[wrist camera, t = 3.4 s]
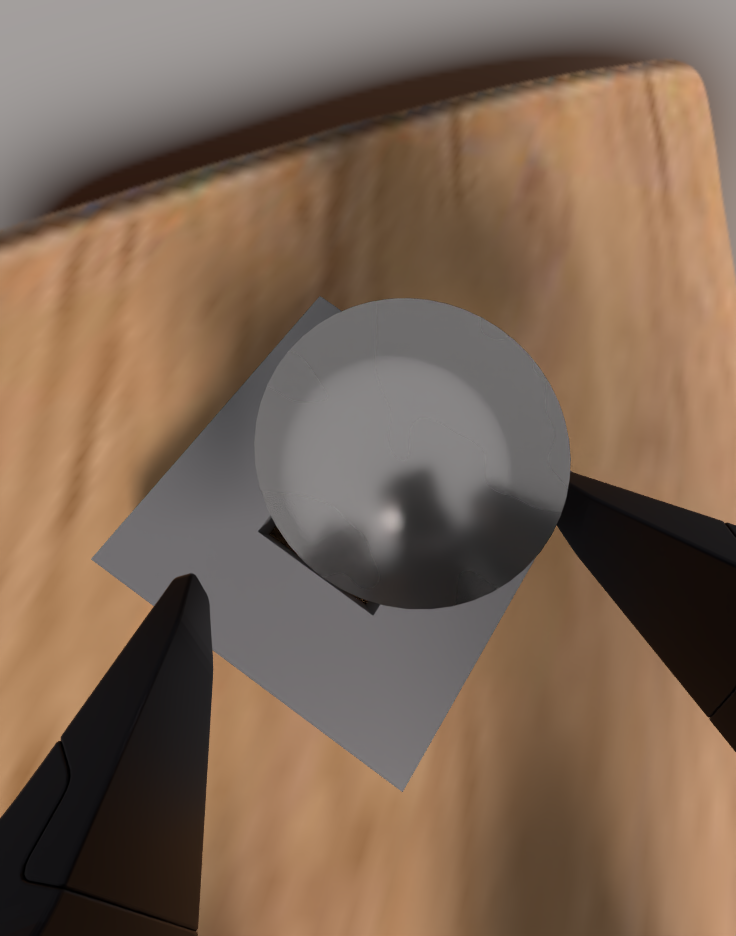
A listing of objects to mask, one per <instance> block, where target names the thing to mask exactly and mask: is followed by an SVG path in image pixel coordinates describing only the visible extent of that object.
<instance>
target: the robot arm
mask: <svg viewBox="0 0 736 936" xmlns="http://www.w3.org/2000/svg"><path fill="white" fill-rule="evenodd" d="M557 526H558V528H559V529H560V531H561V532H562V534H563V536H564V537H565V539H566V540H567V542H568V543H569V545H570V546H571V548H572V549H573V550H574V552H575V553H576V555H577V556H578V557H579V558H580V560H581V561H582V562H583V563H584V565H585V566H586V567H587V568H588V570H589V571H590V572H591V573H592V575H593V576H594V577H595V578H596V580H597V581H598V582H599V583H600V584H601V586H602V587H603V588H604V589H605V591H606V592H607V593H608V594H609V596H610V597H611V598H612V599H613V601H614V602H615V603H616V604H617V606H618V607H619V608H620V609H621V610H622V612H623V613H624V614H625V615H626V617H627V618H628V619H629V620H630V622H631V623H632V624H633V625H634V627H635V628H636V629H637V630H638V631H639V633H640V634H641V635H642V636H643V638H644V639H645V640H646V641H647V643H648V644H649V645H650V646H651V648H652V649H653V650H654V651H655V653H656V654H657V655H658V656H659V657H660V659H661V660H662V661H663V662H664V664H665V665H666V666H667V667H668V669H669V670H670V671H671V672H672V674H673V675H674V676H675V677H676V678H677V680H678V681H679V682H680V683H681V685H682V686H683V687H684V688H685V690H686V691H687V692H688V693H689V695H690V696H691V697H692V698H693V699H694V701H695V702H696V703H697V704H698V706H699V707H700V708H701V709H702V711H703V712H704V713H705V714H706V716H707V717H710V718H709V719H710V721H711V722H712V723H713V725H714V726H715V727H716V728H717V730H718V731H719V732H720V733H721V734H722V736H723V737H724V738H725V739H726V741H727V742H728V743H729V744H730V746H731V747H732V748H733V749H734V751H735V752H736V525H733V524H730V523H724V522H723V521H721V520H718V519H715V518H711V517H708V516H705V515H702V514H699V513H696V512H693V511H690V510H687V509H684V508H681V507H678V506H675V505H672V504H668V503H665V502H662V501H659V500H656V499H653V498H650V497H647V496H644V495H641V494H638V493H635V492H632V491H629V490H625V489H622V488H619V487H616V486H613V485H610V484H607V483H604V482H601V481H598V480H595V479H592V478H589V477H586V476H583V475H579V474H576V473H573V472H570V479H569V485H568V491H567V497H566V500H565V503H564V507H563V510H562V513H561V516H560V518H559V520H558V523H557ZM212 683H213V653H212V636H211V619H210V604H209V598H208V595H207V593H206V592H205V590H204V588H203V586H202V585H201V583H200V581H199V579H198V578H197V576H196V575H195V574H194V573H189V574H185V575H182V576H178V577H176V578H174V579H173V580H172V582H171V583H170V584H169V586H168V587H167V589H166V590H165V591H164V593H163V594H162V596H161V597H160V598H159V600H158V601H157V603H156V604H155V605H154V607H153V608H152V610H151V611H150V612H149V614H148V615H147V617H146V618H145V619H144V621H143V622H142V624H141V625H140V626H139V628H138V629H137V631H136V632H135V633H134V635H133V636H132V638H131V639H130V640H129V642H128V643H127V645H126V646H125V647H124V649H123V650H122V652H121V653H120V654H119V656H118V657H117V659H116V660H115V661H114V663H113V664H112V666H111V667H110V668H109V670H108V671H107V673H106V674H105V675H104V677H103V678H102V680H101V681H100V682H99V684H98V685H97V687H96V688H95V689H94V691H93V692H92V694H91V695H90V696H89V698H88V699H87V701H86V702H85V703H84V705H83V706H82V708H81V709H80V711H79V712H78V713H77V715H76V716H75V718H74V719H73V720H72V722H71V723H70V725H69V726H68V727H67V729H66V730H65V732H64V733H63V734H62V736H61V741H58V742H57V743H56V744H55V745H54V747H53V748H52V749H51V751H50V752H49V754H48V755H47V756H46V758H45V759H44V761H43V762H42V763H41V765H40V766H39V768H38V769H37V770H36V772H35V773H34V774H33V776H32V777H31V778H30V780H29V781H28V782H27V784H26V785H25V787H24V788H23V789H22V791H21V792H20V793H19V795H18V796H17V797H16V799H15V800H14V801H13V803H12V804H11V805H10V806H9V808H8V809H7V810H6V812H5V813H4V814H3V815H2V817H1V818H0V936H198V932H196V931H197V929H198V919H199V902H200V886H201V869H202V852H203V835H204V818H205V801H206V784H207V768H208V751H209V734H210V717H211V700H212Z"/></svg>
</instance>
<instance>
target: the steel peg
mask: <svg viewBox="0 0 736 936" xmlns="http://www.w3.org/2000/svg"><path fill="white" fill-rule="evenodd" d="M254 447H255V465H256V470H257V475H258V481H259V486H260V489H261V492H262V495H263V498H264V501H265V503H266V506H267V509H268V511H269V513H270V515H271V517H272V519H273V521H274V523H275V525H276V526H277V528H278V529H279V531H280V532H281V534H282V535H283V537H284V538H285V540H286V541H287V543H288V544H289V546H290V547H291V548H292V549H293V550H294V551H295V552H296V553H297V554H298V555H299V557H300V558H301V559H302V560H303V561H304V562H305V563H306V564H307V565H308V566H310V567H311V568H312V569H313V570H314V571H316V572H317V573H318V574H319V575H320V576H322V577H323V578H324V579H326V580H328V581H329V582H331V583H332V584H334V585H335V586H337V587H339V588H340V589H342V590H344V591H346V592H348V593H351V594H353V595H355V596H357V597H359V598H362V599H364V600H367V601H371V602H374V603H378V604H381V605H384V606H390V607H397V608H403V609H437V608H445V607H452V606H456V605H459V604H463V603H466V602H470V601H473V600H476V599H478V598H480V597H483V596H485V595H487V594H489V593H492V592H494V591H495V590H497V589H498V588H500V587H502V586H503V585H505V584H506V583H508V582H510V581H511V580H512V579H513V578H515V577H516V576H517V575H518V574H519V573H521V572H522V571H523V570H524V569H525V568H526V567H527V566H528V565H529V564H530V563H531V562H532V561H533V560H534V558H535V557H536V556H537V555H538V554H539V553H540V552H541V550H542V549H543V547H544V546H545V544H546V543H547V541H548V540H549V538H550V537H551V535H552V533H553V531H554V529H555V527H556V525H557V523H558V520H559V518H560V516H561V513H562V510H563V507H564V503H565V500H566V497H567V491H568V485H569V479H570V460H571V458H570V446H569V437H568V433H567V428H566V423H565V419H564V416H563V413H562V410H561V407H560V405H559V402H558V400H557V398H556V395H555V393H554V391H553V389H552V387H551V385H550V383H549V382H548V380H547V379H546V377H545V376H544V374H543V372H542V371H541V369H540V368H539V366H538V365H537V364H536V363H535V362H534V360H533V359H532V358H531V357H530V355H529V354H528V353H527V352H526V351H525V350H524V349H523V348H522V347H521V346H520V345H519V344H518V343H517V342H516V341H515V340H514V339H512V338H511V337H510V336H509V335H507V334H506V333H505V332H503V331H502V330H501V329H499V328H498V327H497V326H495V325H493V324H492V323H490V322H488V321H487V320H485V319H483V318H482V317H479V316H477V315H475V314H473V313H471V312H469V311H466V310H464V309H461V308H458V307H455V306H452V305H449V304H446V303H441V302H436V301H431V300H424V299H413V298H398V299H385V300H378V301H372V302H368V303H364V304H361V305H357V306H354V307H351V308H349V309H346V310H344V311H342V312H339V313H337V314H335V315H333V316H331V317H329V318H328V319H326V320H324V321H323V322H321V323H319V324H318V325H316V326H315V327H314V328H313V329H311V330H310V331H309V332H307V333H306V334H305V335H304V336H302V338H301V339H300V340H299V341H298V342H297V343H296V344H295V345H294V346H293V347H292V348H291V349H290V350H289V351H288V352H287V354H286V355H285V356H284V358H283V359H282V360H281V362H280V363H279V364H278V366H277V368H276V369H275V371H274V373H273V375H272V377H271V379H270V380H269V382H268V384H267V387H266V390H265V392H264V395H263V397H262V400H261V403H260V407H259V412H258V416H257V421H256V429H255V441H254Z"/></svg>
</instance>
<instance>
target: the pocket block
mask: <svg viewBox="0 0 736 936" xmlns="http://www.w3.org/2000/svg"><path fill="white" fill-rule="evenodd" d="M339 312H342V311H341V310H339V309H338V308H336V307H335V306H334V305H332V304H331V303H329V302H328V301H326V300H325V299H324V298H322V297H321V296H320V297H319V298H318V299H317V300H316V301H315V302H314V303H313V305H312V306H311V307H310V308H309V309H308V310H307V311H306V313H305V314H304V315H303V316H302V317H301V318H300V320H299V321H298V322H297V323H296V324H295V325H294V326H293V328H292V329H291V330H290V331H289V332H288V333H287V334H286V336H285V337H284V338H283V339H282V340H281V341H280V343H279V344H278V345H277V346H276V347H275V348H274V349H273V351H272V352H271V353H270V354H269V355H268V356H267V357H266V359H265V360H264V361H263V362H262V363H261V364H260V366H259V367H258V368H257V369H256V370H255V371H254V372H253V374H252V375H251V376H250V377H249V378H248V379H247V380H246V382H245V383H244V384H243V385H242V386H241V387H240V389H239V390H238V391H237V392H236V393H235V394H234V395H233V397H232V398H231V399H230V400H229V401H228V402H227V403H226V405H225V406H224V407H223V408H222V409H221V410H220V411H219V413H218V414H217V415H216V416H215V417H214V418H213V420H212V421H211V422H210V423H209V424H208V425H207V426H206V428H205V429H204V430H203V431H202V432H201V433H200V434H199V436H198V437H197V438H196V439H195V440H194V441H193V443H192V444H191V445H190V446H189V447H188V448H187V449H186V451H185V452H184V453H183V454H182V455H181V456H180V457H179V459H178V460H177V461H176V462H175V463H174V464H173V466H172V467H171V468H170V469H169V470H168V471H167V472H166V474H165V475H164V476H163V477H162V478H161V479H160V480H159V482H158V483H157V484H156V485H155V486H154V487H153V489H152V490H151V491H150V492H149V493H148V494H147V495H146V497H145V498H144V499H143V500H142V501H141V502H140V503H139V505H138V506H137V507H136V508H135V509H134V510H133V512H132V513H131V514H130V515H129V516H128V517H127V518H126V520H125V521H124V522H123V523H122V524H121V525H120V526H119V528H118V529H117V530H116V531H115V532H114V533H113V535H112V536H111V537H110V538H109V539H108V540H107V541H106V543H105V544H104V545H103V546H102V547H101V548H100V549H99V551H98V552H97V553H96V554H95V555H94V556H93V557H92V559H91V560H93V561H94V562H95V563H97V564H98V565H99V566H101V567H102V568H104V569H105V570H106V571H108V572H109V573H110V574H112V575H113V576H114V577H116V578H117V579H118V580H120V581H121V582H122V583H124V584H125V585H126V586H128V587H129V588H130V589H132V590H133V591H134V592H136V593H137V594H138V595H140V596H141V597H142V598H144V599H145V600H146V601H148V602H149V603H150V604H152V605H153V606H154V605H155V604H156V603H157V601H158V600H159V598H160V597H161V596H162V594H163V593H164V591H165V590H166V589H167V587H168V586H169V584H170V583H171V582H172V580H173V579H174V578H176V577H178V576H182V575H185V574H189V573H194V574H195V575H196V576H197V578H198V579H199V581H200V583H201V585H202V586H203V588H204V590H205V592H206V593H207V595H208V598H209V604H210V619H211V636H212V650H213V651H214V652H216V653H217V654H218V655H220V656H221V657H223V658H224V659H225V660H227V661H228V662H229V663H231V664H232V665H233V666H235V667H236V668H237V669H239V670H240V671H241V672H243V673H244V674H245V675H247V676H248V677H249V678H251V679H252V680H253V681H255V682H256V683H257V684H259V685H260V686H261V687H263V688H264V689H265V690H267V691H268V692H269V693H271V694H272V695H273V696H275V697H276V698H277V699H279V700H280V701H281V702H283V703H284V704H285V705H287V706H288V707H289V708H291V709H292V710H293V711H295V712H296V713H297V714H299V715H300V716H301V717H303V718H304V719H305V720H307V721H308V722H309V723H311V724H312V725H313V726H315V727H316V728H317V729H319V730H320V731H321V732H323V733H324V734H325V735H327V736H328V737H329V738H331V739H332V740H333V741H335V742H336V743H337V744H339V745H340V746H342V747H343V748H344V749H346V750H347V751H348V752H350V753H351V754H352V755H354V756H355V757H356V758H358V759H359V760H360V761H362V762H363V763H364V764H366V765H367V766H368V767H370V768H371V769H372V770H374V771H375V772H376V773H378V774H379V775H380V776H382V777H383V778H384V779H386V780H387V781H388V782H390V783H391V784H392V785H394V786H395V787H396V788H398V789H399V790H400V791H402V792H403V790H404V789H405V787H406V785H407V783H408V782H409V780H410V778H411V776H412V775H413V773H414V771H415V769H416V768H417V766H418V764H419V762H420V760H421V759H422V757H423V755H424V753H425V752H426V750H427V748H428V746H429V745H430V743H431V741H432V739H433V738H434V736H435V734H436V732H437V730H438V729H439V727H440V725H441V723H442V722H443V720H444V718H445V716H446V715H447V713H448V711H449V709H450V708H451V706H452V704H453V702H454V701H455V699H456V697H457V695H458V693H459V692H460V690H461V688H462V686H463V685H464V683H465V681H466V679H467V678H468V676H469V674H470V672H471V671H472V669H473V667H474V665H475V663H476V662H477V660H478V658H479V656H480V655H481V653H482V651H483V649H484V648H485V646H486V644H487V642H488V641H489V639H490V637H491V635H492V634H493V632H494V630H495V628H496V626H497V625H498V623H499V621H500V619H501V618H502V616H503V614H504V612H505V611H506V609H507V607H508V605H509V604H510V602H511V600H512V598H513V596H514V595H515V593H516V591H517V589H518V588H519V586H520V584H521V582H522V581H523V579H524V577H525V575H526V574H527V572H528V570H529V568H530V567H531V565H532V563H533V561H534V560H533V561H532V562H531V563H530V564H529V565H528V566H527V567H526V568H525V569H524V570H523V571H522V572H521V573H519V574H518V575H517V576H516V577H515V578H513V579H512V580H511V581H510V582H508V583H506V584H505V585H503V586H502V587H500V588H498V589H497V590H495V591H494V592H492V593H489V594H487V595H485V596H483V597H480V598H478V599H476V600H473V601H470V602H466V603H463V604H459V605H456V606H452V607H445V608H437V609H403V608H397V607H390V606H384V605H381V604H378V603H374V602H371V601H368V602H367V604H366V605H365V604H364V603H363V602H361V601H360V600H359V599H357V598H356V597H354V596H353V595H352V594H350V593H348V592H346V591H344V590H342V589H340V588H339V587H337V586H335V585H334V584H332V583H331V582H329V581H328V580H326V579H324V578H323V577H322V576H320V575H319V574H318V573H317V572H316V571H314V570H313V569H312V568H311V567H310V566H308V565H307V564H306V563H305V562H304V561H303V560H302V559H301V558H300V557H299V556H298V555H297V554H295V553H294V552H293V551H291V550H290V549H289V548H287V547H286V546H285V545H283V544H282V543H280V542H279V541H278V540H276V539H275V538H274V537H272V536H271V535H269V534H270V532H271V531H272V530H273V529H274V527H275V526H276V525H275V523H274V521H273V519H272V517H271V515H270V513H269V511H268V509H267V506H266V503H265V501H264V498H263V495H262V492H261V489H260V486H259V481H258V475H257V470H256V465H255V447H254V441H255V429H256V421H257V416H258V412H259V407H260V403H261V400H262V397H263V395H264V392H265V390H266V387H267V384H268V382H269V380H270V379H271V377H272V375H273V373H274V371H275V369H276V368H277V366H278V364H279V363H280V362H281V360H282V359H283V358H284V356H285V355H286V354H287V352H288V351H289V350H290V349H291V348H292V347H293V346H294V345H295V344H296V343H297V342H298V341H299V340H300V339H301V338H302V336H304V335H305V334H306V333H307V332H309V331H310V330H311V329H313V328H314V327H315V326H316V325H318V324H319V323H321V322H323V321H324V320H326V319H328V318H329V317H331V316H333V315H335V314H337V313H339ZM570 472H572V471H570ZM535 558H536V557H535ZM535 558H534V559H535Z"/></svg>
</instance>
